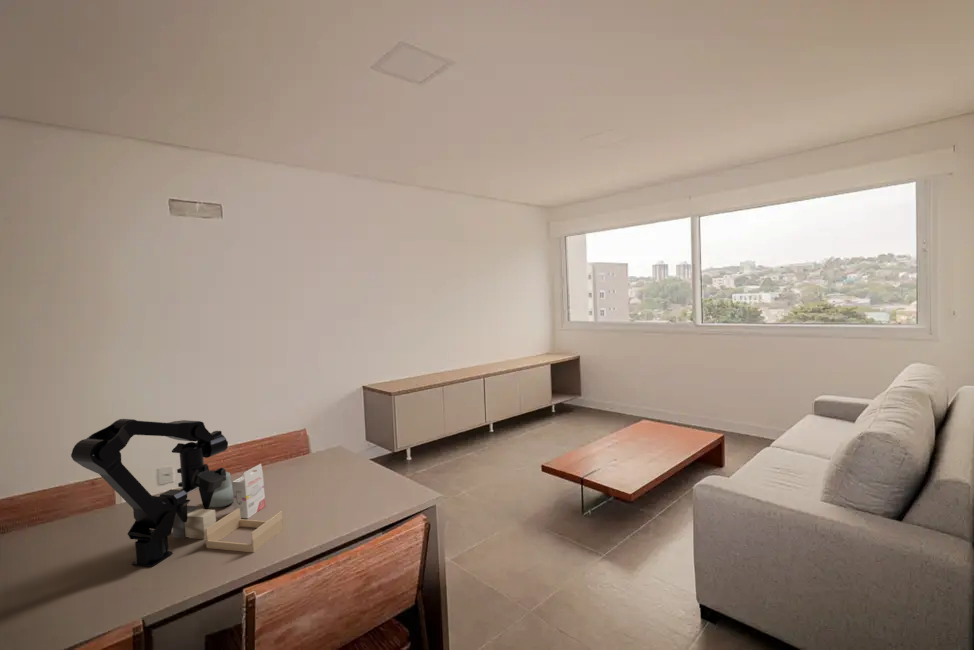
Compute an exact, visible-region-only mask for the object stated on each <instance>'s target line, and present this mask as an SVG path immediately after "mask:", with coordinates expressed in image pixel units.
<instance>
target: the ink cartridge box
mask: <svg viewBox="0 0 974 650" xmlns="http://www.w3.org/2000/svg"><path fill="white" fill-rule="evenodd" d="M231 484H232V489H233V500H234V502H233V511H235V510H236V509H238V508H240V514H241V519H249V518H251V517H252V516H254V515H255V514H256V513H259V511H261V510H262V509H264V508H265V507H266V497H265V483H264V472H263V467H262V463H259V464H257V465H256V466H253V467H252V468H250V469H248V470H246V471H244V472H243V475H242V476H241V477H239V478H237V479H234V480H233V481H231Z"/></svg>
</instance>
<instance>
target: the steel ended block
mask: <svg viewBox="0 0 974 650" xmlns="http://www.w3.org/2000/svg"><path fill="white" fill-rule="evenodd" d="M216 516H217V515H216V509H204V508H199V506H197V505H187V522H183V521H182V520H181V519H180V517H179V516H178V515H177V513H176V515H175V519H174V523H173V528H172V534H173V535H172V536H173V538H174V537H177V538H176V539H183V538H184V539H186V538H185V537H189V538H188V539H197V540H198V539H199V540H206V528H207V527H209V526H211V525H212V524H214V523H215V522H217V517H216Z"/></svg>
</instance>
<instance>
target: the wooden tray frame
mask: <svg viewBox="0 0 974 650" xmlns="http://www.w3.org/2000/svg"><path fill="white" fill-rule="evenodd" d="M240 527H242V528H243V527H245V528H256V529H254V530H253V531H251V532H250V535H251V541H250V542H251V543H244V542H232V541H223V538H225V537H227V536H228V535H230V534H232V532H234V531H236V530H237V529H238V528H240ZM284 529H285V528H284V517H283V510H280V511H279V512H278V513H276V514H275V515H274V516H273V517H271V518H269V519H268V520H256V519H247V518H241V514H240V508H238V509H236V510H235V511H234V510H233V511H231V512H230V513H228V514H227V515H225V516H223V517H222V518H220V519H219V520H216V522H215V523H214V524H212V525H211V526H209V527H207V528H206V539H205V542H206V543H205V545H206V549H215V550H225V551H235V552H245V553H255V552H257V551H258V550H259V549H260V548H262V547H263V546H265V544H267V542H270V540H272V539H273V538H274V537H276V535H278V534H279V533H280V532H282V531H283V530H284Z"/></svg>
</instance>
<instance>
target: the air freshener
mask: <svg viewBox="0 0 974 650" xmlns="http://www.w3.org/2000/svg"><path fill="white" fill-rule="evenodd" d="M232 503H233V504H234V500H233V489H232V478H231V473H230V472H229V471H226V480H225V481H223V482H222V484H221V487H220V488H217V489H215V490H214V493H213V496H212V499H211V502H210V506H209V508H213V509H216V508H223V507H227V506H229V505H231V504H232Z"/></svg>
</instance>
